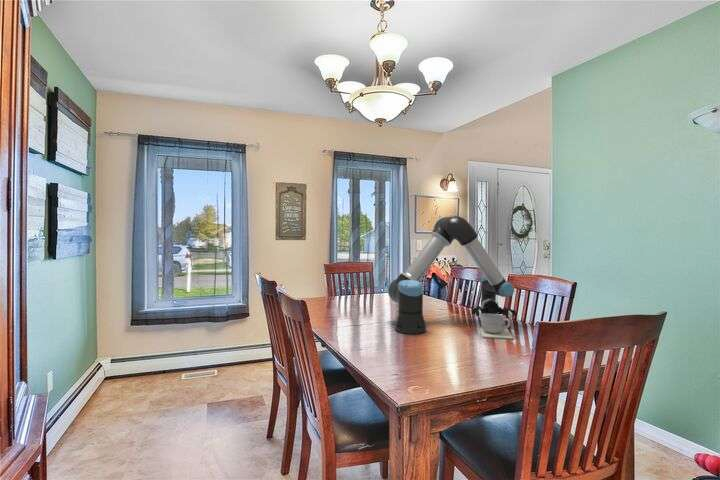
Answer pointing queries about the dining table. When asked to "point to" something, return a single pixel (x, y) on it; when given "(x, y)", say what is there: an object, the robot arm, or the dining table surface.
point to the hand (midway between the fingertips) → (495, 315)
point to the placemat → (496, 334)
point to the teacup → (494, 323)
